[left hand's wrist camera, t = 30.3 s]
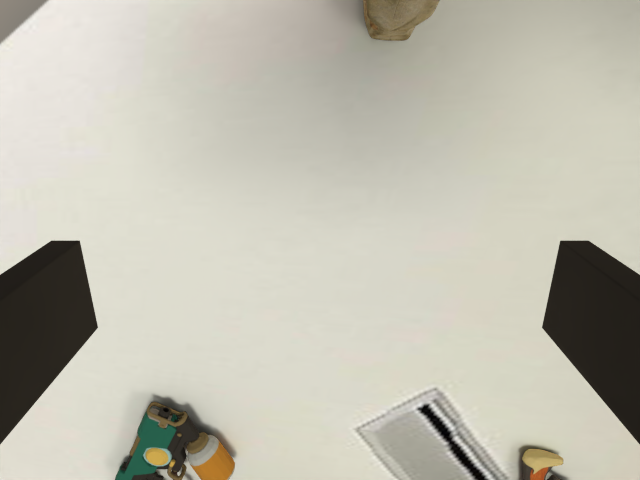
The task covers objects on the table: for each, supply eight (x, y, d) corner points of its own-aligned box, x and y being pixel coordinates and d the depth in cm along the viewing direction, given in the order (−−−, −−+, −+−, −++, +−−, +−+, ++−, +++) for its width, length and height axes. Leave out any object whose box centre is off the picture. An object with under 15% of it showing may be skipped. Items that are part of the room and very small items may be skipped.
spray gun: (183, 512, 63) (93, 453, 60) (259, 452, 58) (165, 384, 55) (172, 542, 59) (75, 481, 56) (252, 481, 54) (150, 410, 51)
